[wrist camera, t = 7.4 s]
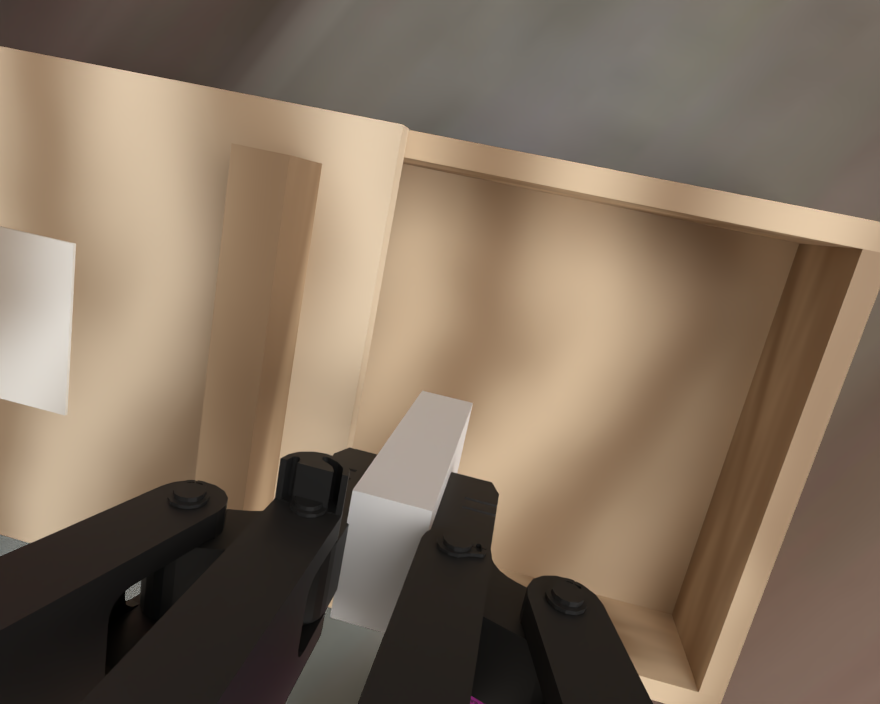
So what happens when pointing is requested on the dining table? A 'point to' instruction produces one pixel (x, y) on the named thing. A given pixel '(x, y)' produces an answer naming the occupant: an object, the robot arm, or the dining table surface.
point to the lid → (177, 285)
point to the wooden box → (623, 378)
